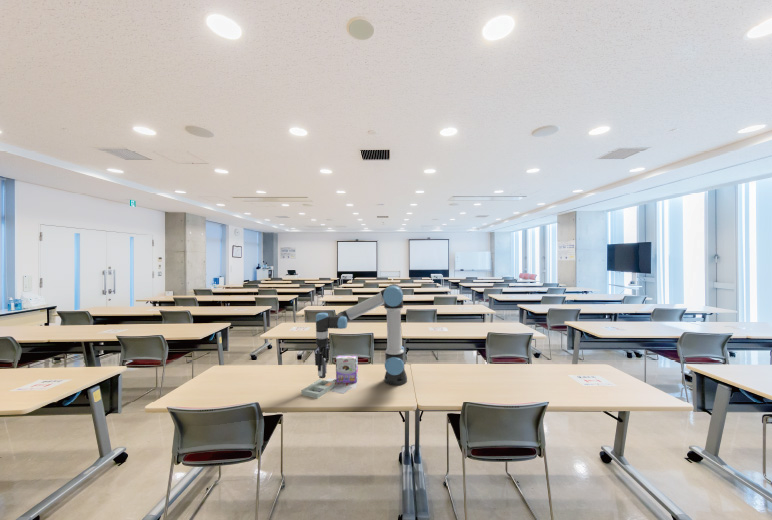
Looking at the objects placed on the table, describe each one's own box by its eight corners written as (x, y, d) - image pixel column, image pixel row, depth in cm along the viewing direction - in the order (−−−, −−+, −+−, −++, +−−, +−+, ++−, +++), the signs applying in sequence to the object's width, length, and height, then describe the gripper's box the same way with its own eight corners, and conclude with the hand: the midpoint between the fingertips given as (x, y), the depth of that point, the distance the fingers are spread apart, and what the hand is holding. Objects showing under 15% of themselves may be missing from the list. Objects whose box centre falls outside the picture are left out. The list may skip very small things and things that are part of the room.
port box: (335, 386, 202) (334, 381, 202) (317, 398, 185) (317, 393, 185) (319, 383, 207) (319, 378, 207) (301, 395, 190) (301, 389, 190)
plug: (326, 376, 201) (326, 357, 201) (323, 378, 197) (322, 359, 197) (321, 375, 203) (321, 356, 202) (317, 377, 199) (317, 358, 199)
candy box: (358, 379, 212) (357, 355, 212) (356, 383, 207) (356, 358, 206) (338, 379, 214) (337, 355, 213) (335, 382, 208) (335, 358, 208)
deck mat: (352, 387, 200) (352, 387, 200) (343, 394, 191) (343, 393, 191) (338, 385, 204) (338, 384, 204) (330, 391, 195) (330, 390, 195)
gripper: (325, 333, 209) (325, 368, 209) (308, 340, 193) (309, 378, 194) (334, 334, 206) (334, 370, 206) (318, 341, 190) (319, 380, 191)
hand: (322, 374), depth 200 cm, fingers closed on plug, 4 cm apart
